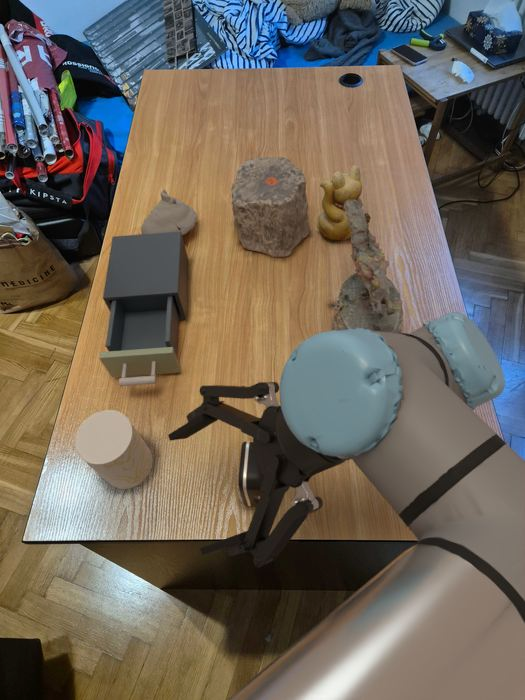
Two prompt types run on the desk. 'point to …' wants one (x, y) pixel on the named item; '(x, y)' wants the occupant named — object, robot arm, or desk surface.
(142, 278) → the cabinet
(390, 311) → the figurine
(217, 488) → the desk surface
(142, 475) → the cup
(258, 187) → the petrified wood
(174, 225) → the grey clay mound
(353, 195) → the decorative figurine
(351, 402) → the robot arm
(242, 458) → the battery charger
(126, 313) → the drawer
